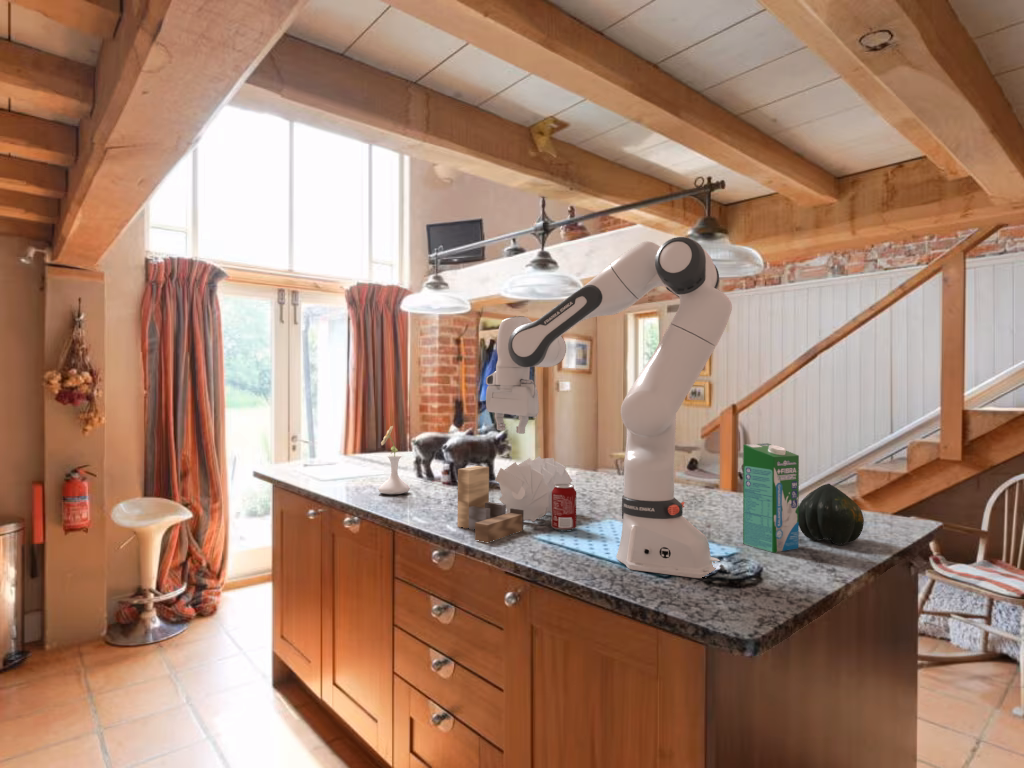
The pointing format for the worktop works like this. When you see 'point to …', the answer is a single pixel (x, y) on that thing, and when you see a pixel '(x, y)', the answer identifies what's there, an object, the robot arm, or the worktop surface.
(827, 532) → the squash
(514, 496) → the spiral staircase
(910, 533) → the worktop surface
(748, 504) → the milk carton
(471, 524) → the post
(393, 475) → the flower in vase
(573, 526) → the soda can
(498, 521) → the wooden block
